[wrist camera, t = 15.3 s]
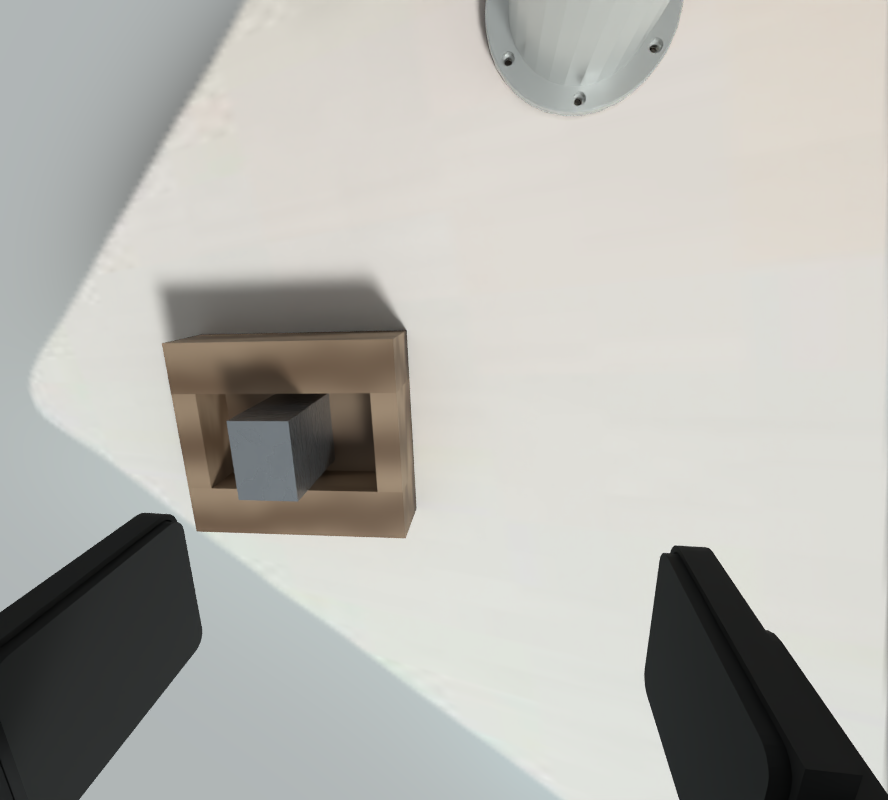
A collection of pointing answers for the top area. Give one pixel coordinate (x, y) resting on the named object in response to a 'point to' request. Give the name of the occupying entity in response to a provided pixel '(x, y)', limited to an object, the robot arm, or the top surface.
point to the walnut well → (352, 414)
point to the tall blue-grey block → (281, 446)
